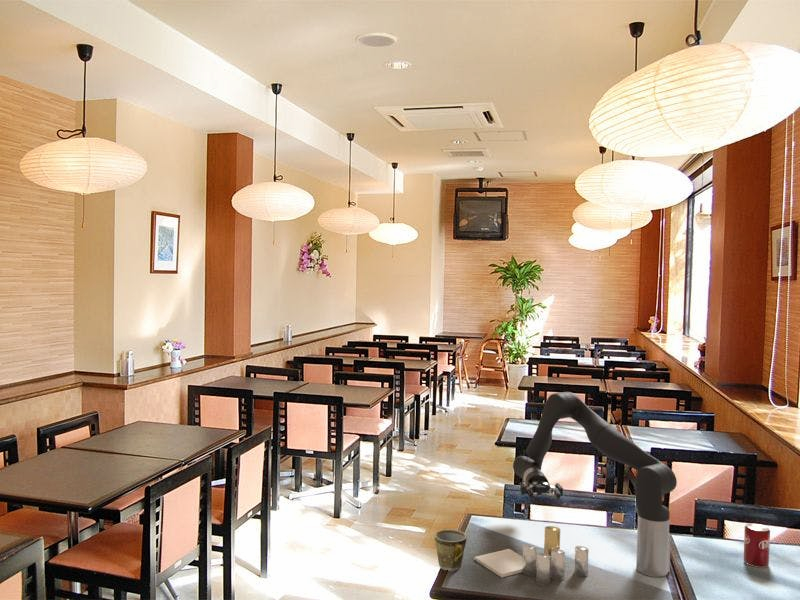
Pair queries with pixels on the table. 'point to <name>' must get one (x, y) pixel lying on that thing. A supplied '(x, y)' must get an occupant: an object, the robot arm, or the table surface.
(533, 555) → the spacers
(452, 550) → the ceramic cup
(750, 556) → the soda can
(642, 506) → the robot arm
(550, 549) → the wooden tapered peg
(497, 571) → the pad
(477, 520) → the table surface
